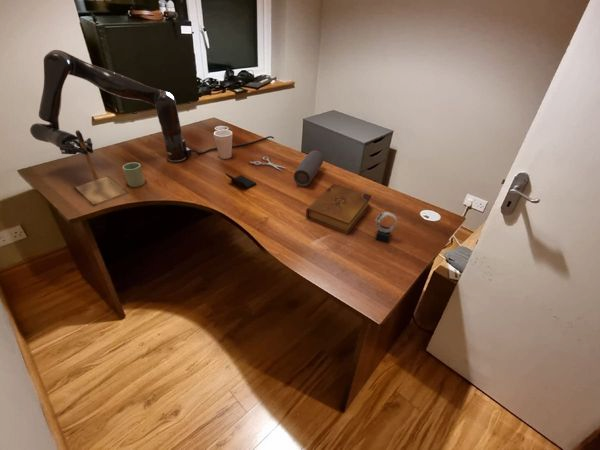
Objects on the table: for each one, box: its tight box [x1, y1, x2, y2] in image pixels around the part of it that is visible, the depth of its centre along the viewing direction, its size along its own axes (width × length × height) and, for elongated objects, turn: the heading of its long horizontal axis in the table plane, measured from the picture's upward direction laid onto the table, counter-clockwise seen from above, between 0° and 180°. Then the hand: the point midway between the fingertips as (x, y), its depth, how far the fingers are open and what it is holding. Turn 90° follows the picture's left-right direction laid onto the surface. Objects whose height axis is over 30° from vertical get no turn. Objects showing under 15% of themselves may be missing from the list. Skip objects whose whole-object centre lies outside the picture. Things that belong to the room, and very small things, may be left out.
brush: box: [75, 129, 99, 181], centre depth 137 cm, size 2×2×22 cm
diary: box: [305, 183, 372, 235], centre depth 137 cm, size 23×19×6 cm
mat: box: [75, 176, 127, 206], centre depth 147 cm, size 14×20×1 cm
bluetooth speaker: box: [293, 149, 325, 187], centre depth 159 cm, size 23×9×10 cm, turn 161°
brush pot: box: [122, 161, 146, 188], centre depth 150 cm, size 7×8×9 cm
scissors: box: [249, 156, 286, 172], centre depth 171 cm, size 11×1×20 cm
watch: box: [374, 211, 398, 243], centre depth 123 cm, size 6×8×11 cm
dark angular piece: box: [225, 173, 257, 190], centre depth 154 cm, size 12×7×10 cm
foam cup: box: [213, 129, 234, 160], centre depth 174 cm, size 10×9×13 cm
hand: (89, 151), depth 134 cm, fingers closed on brush, 1 cm apart
